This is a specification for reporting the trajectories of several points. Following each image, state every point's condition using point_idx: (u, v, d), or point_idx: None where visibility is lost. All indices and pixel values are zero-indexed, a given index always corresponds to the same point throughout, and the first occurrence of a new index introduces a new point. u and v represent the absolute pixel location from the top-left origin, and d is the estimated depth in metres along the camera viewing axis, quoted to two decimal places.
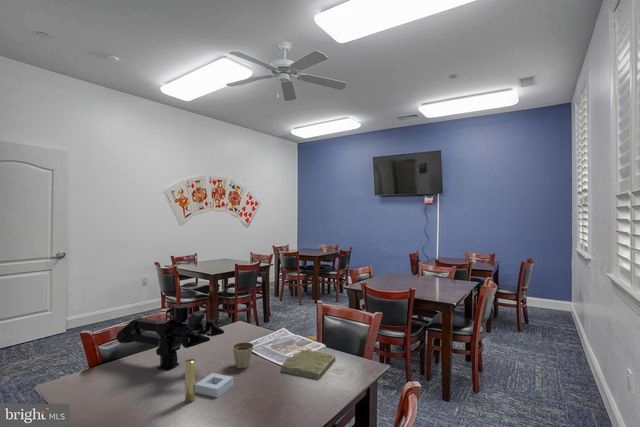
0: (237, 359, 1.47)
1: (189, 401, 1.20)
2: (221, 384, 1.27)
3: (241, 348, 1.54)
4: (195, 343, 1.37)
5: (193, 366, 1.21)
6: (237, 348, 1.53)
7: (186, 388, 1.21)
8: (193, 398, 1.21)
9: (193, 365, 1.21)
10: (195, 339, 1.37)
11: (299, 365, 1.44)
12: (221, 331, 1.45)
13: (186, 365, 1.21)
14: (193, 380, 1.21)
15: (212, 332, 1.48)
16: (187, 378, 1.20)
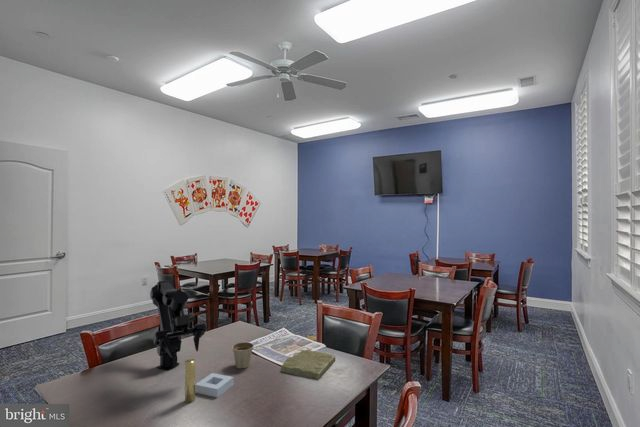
0: (237, 359, 1.47)
1: (189, 401, 1.20)
2: (221, 384, 1.27)
3: (241, 348, 1.54)
4: (163, 346, 1.29)
5: (193, 366, 1.21)
6: (237, 348, 1.53)
7: (186, 388, 1.21)
8: (193, 398, 1.21)
9: (193, 365, 1.21)
10: None
11: (299, 365, 1.44)
12: (196, 348, 1.32)
13: (186, 365, 1.21)
14: (193, 380, 1.21)
15: (194, 337, 1.36)
16: (187, 378, 1.20)
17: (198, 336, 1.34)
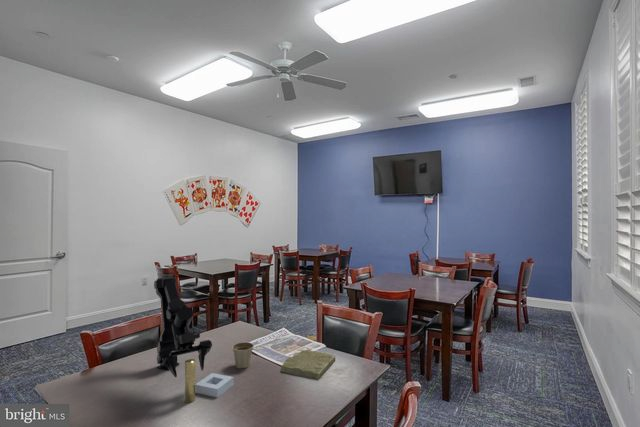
0: (237, 359, 1.47)
1: (189, 401, 1.20)
2: (221, 384, 1.27)
3: (241, 348, 1.54)
4: (167, 365, 1.23)
5: (193, 366, 1.21)
6: (237, 348, 1.53)
7: (186, 388, 1.21)
8: (193, 398, 1.21)
9: (193, 365, 1.21)
10: None
11: (299, 365, 1.44)
12: (201, 367, 1.26)
13: (186, 365, 1.21)
14: (193, 380, 1.21)
15: (199, 355, 1.30)
16: (187, 378, 1.20)
17: (203, 354, 1.28)
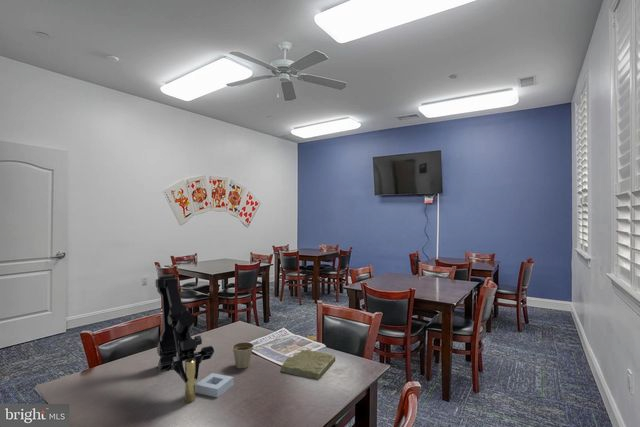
0: (237, 359, 1.47)
1: (189, 401, 1.20)
2: (221, 384, 1.27)
3: (241, 348, 1.54)
4: (176, 370, 1.23)
5: (193, 366, 1.21)
6: (237, 348, 1.53)
7: (186, 388, 1.21)
8: (193, 398, 1.21)
9: (193, 365, 1.21)
10: None
11: (299, 365, 1.44)
12: (195, 376, 1.22)
13: (186, 365, 1.21)
14: (193, 380, 1.21)
15: None
16: (187, 378, 1.20)
17: (198, 362, 1.25)
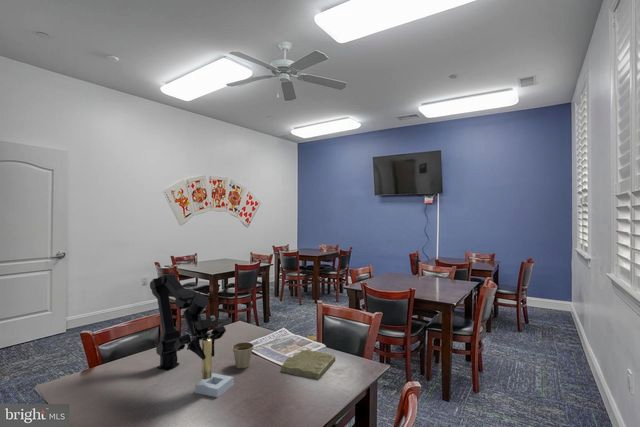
0: (237, 359, 1.47)
1: (207, 377, 1.26)
2: (221, 384, 1.27)
3: (241, 348, 1.54)
4: (192, 349, 1.27)
5: (210, 344, 1.27)
6: (237, 348, 1.53)
7: (204, 365, 1.26)
8: (210, 374, 1.27)
9: (210, 343, 1.27)
10: (195, 346, 1.27)
11: (299, 365, 1.44)
12: (212, 353, 1.28)
13: (204, 343, 1.26)
14: (210, 357, 1.27)
15: None
16: (205, 356, 1.26)
17: (212, 341, 1.30)
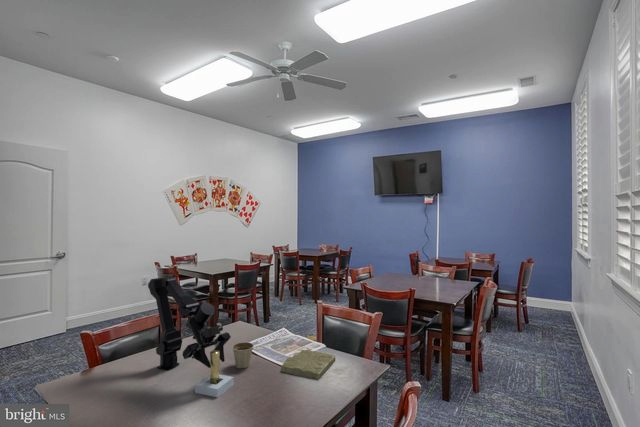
0: (237, 359, 1.47)
1: None
2: (221, 384, 1.27)
3: (241, 348, 1.54)
4: (197, 358, 1.29)
5: (218, 356, 1.30)
6: (237, 348, 1.53)
7: (212, 377, 1.29)
8: None
9: (218, 355, 1.30)
10: (200, 354, 1.29)
11: (299, 365, 1.44)
12: (222, 359, 1.32)
13: (212, 356, 1.29)
14: (218, 369, 1.30)
15: (216, 348, 1.36)
16: (213, 368, 1.29)
17: (222, 347, 1.35)
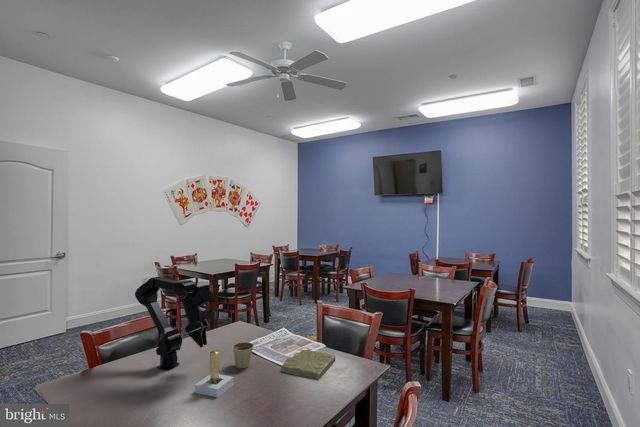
0: (237, 359, 1.47)
1: None
2: (221, 384, 1.27)
3: (241, 348, 1.54)
4: (192, 336, 1.35)
5: (218, 356, 1.30)
6: (237, 348, 1.53)
7: (212, 377, 1.29)
8: None
9: (218, 355, 1.30)
10: (195, 333, 1.36)
11: (299, 365, 1.44)
12: (205, 342, 1.45)
13: (212, 356, 1.29)
14: (218, 369, 1.30)
15: None
16: (213, 368, 1.29)
17: (205, 331, 1.47)
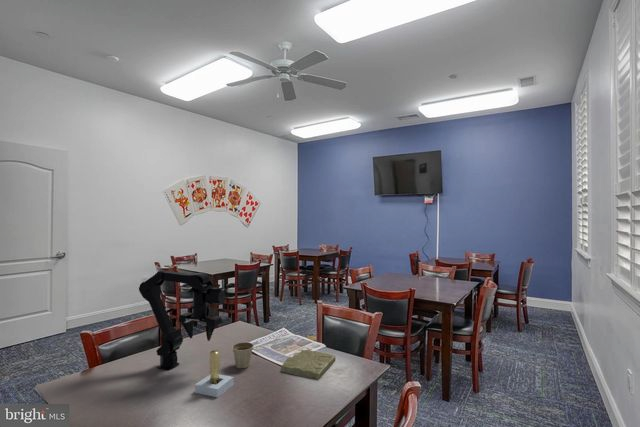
0: (237, 359, 1.47)
1: None
2: (221, 384, 1.27)
3: (241, 348, 1.54)
4: (209, 329, 1.42)
5: (218, 356, 1.30)
6: (237, 348, 1.53)
7: (212, 377, 1.29)
8: None
9: (218, 355, 1.30)
10: None
11: (299, 365, 1.44)
12: (191, 335, 1.48)
13: (212, 356, 1.29)
14: (218, 369, 1.30)
15: (188, 324, 1.47)
16: (213, 368, 1.29)
17: None
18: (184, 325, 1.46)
